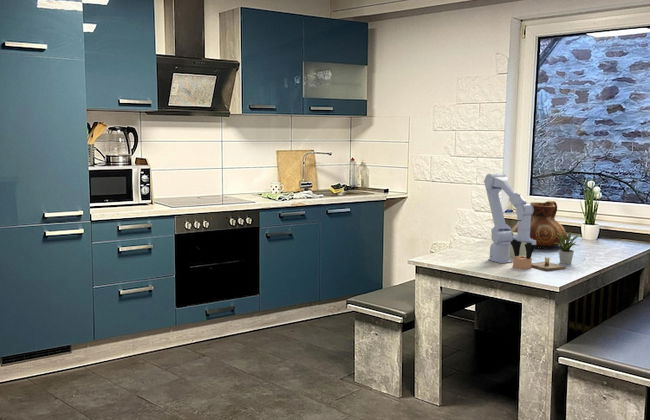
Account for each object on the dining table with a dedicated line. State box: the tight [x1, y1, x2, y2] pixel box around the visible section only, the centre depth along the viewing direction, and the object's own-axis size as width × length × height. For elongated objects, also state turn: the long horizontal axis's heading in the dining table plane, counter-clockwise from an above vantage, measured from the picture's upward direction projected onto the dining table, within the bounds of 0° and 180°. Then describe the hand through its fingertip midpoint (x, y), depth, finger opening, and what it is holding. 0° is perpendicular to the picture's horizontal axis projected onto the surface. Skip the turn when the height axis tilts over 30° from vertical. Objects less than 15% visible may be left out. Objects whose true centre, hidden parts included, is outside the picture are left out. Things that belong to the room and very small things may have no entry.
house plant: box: [556, 230, 582, 265], centre depth 324 cm, size 14×14×16 cm
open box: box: [512, 256, 533, 270], centre depth 314 cm, size 6×6×5 cm
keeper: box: [531, 257, 567, 272], centre depth 315 cm, size 12×12×5 cm
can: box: [509, 232, 526, 258], centre depth 343 cm, size 9×9×12 cm
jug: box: [511, 200, 568, 249], centre depth 370 cm, size 30×30×25 cm
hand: (522, 257), depth 314 cm, fingers open, 7 cm apart
